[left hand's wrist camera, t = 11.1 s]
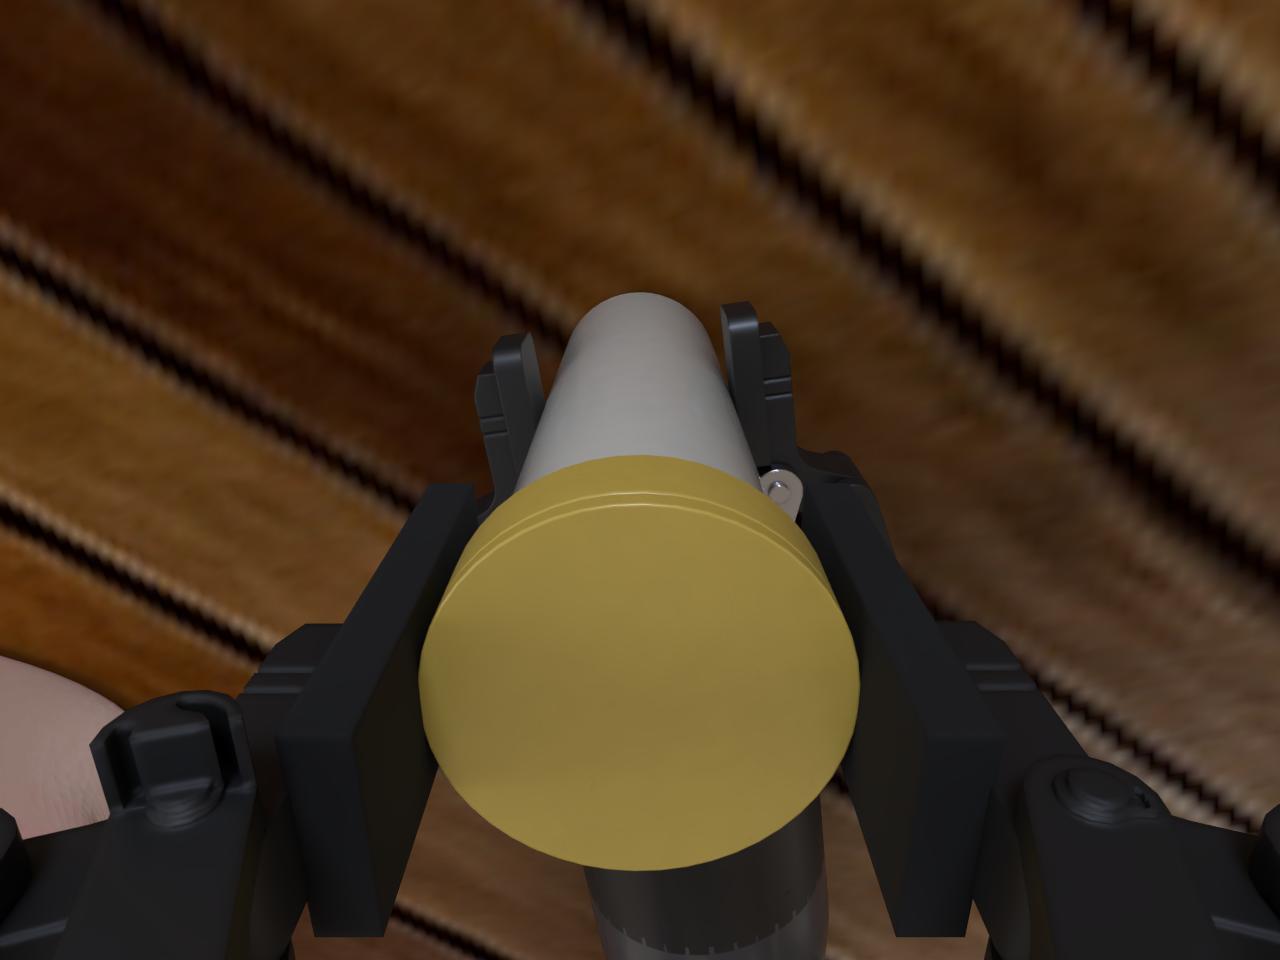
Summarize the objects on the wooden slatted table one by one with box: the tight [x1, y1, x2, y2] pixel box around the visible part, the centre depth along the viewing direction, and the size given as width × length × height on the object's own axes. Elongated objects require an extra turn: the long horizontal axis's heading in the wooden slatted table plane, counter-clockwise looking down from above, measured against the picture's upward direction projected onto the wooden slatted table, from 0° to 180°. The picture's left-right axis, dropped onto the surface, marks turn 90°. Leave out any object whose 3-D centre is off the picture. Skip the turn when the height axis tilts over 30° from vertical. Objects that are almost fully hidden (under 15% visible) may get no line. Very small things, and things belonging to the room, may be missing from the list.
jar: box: [513, 292, 767, 496], centre depth 19 cm, size 5×5×17 cm
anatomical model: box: [0, 656, 125, 839], centre depth 31 cm, size 13×4×12 cm
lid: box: [418, 455, 860, 871], centre depth 11 cm, size 6×6×2 cm
